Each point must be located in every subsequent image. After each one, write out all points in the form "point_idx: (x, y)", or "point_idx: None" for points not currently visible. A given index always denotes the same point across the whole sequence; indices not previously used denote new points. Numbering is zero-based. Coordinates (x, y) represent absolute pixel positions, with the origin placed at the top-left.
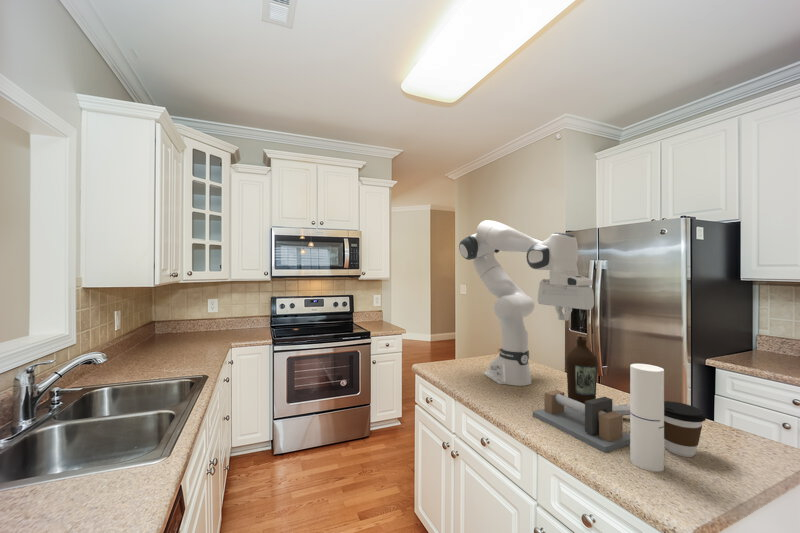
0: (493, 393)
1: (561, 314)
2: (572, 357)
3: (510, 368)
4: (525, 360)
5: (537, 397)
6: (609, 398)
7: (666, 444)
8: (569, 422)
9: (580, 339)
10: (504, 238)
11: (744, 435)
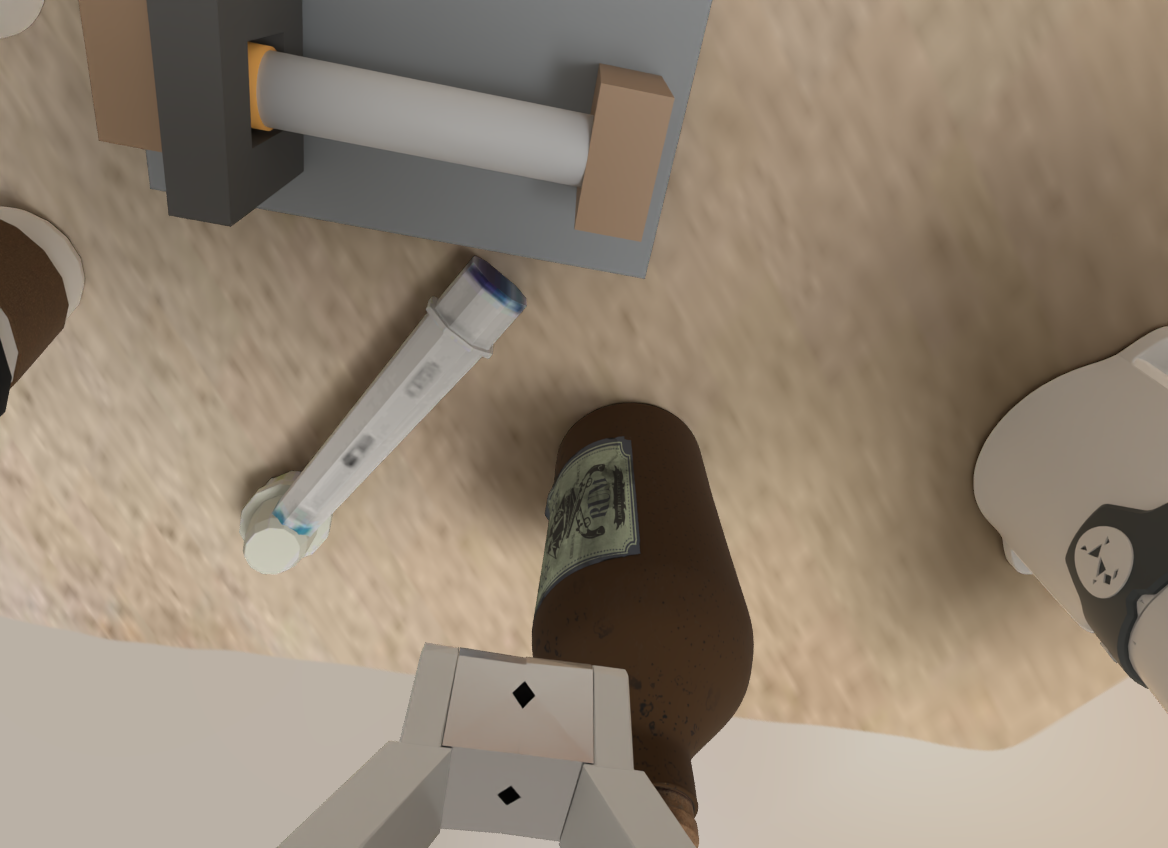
0: (1132, 122)
1: (578, 808)
2: (671, 603)
3: (1161, 441)
4: (1089, 559)
5: (840, 319)
6: (188, 214)
7: (30, 222)
8: (455, 40)
9: None
10: None
11: (63, 613)
